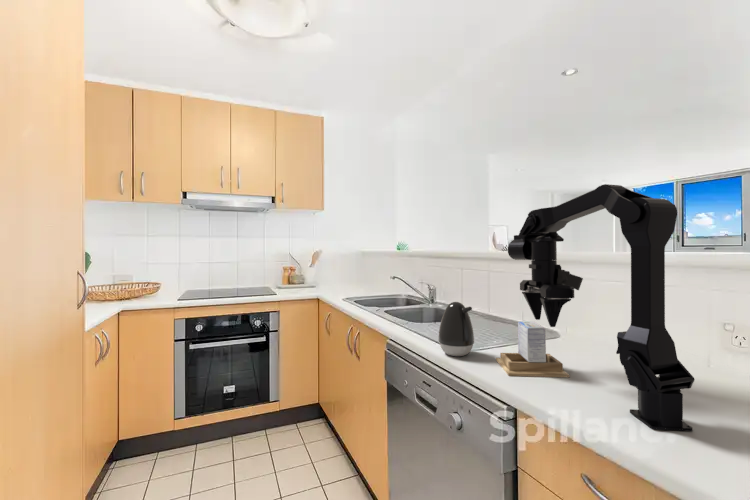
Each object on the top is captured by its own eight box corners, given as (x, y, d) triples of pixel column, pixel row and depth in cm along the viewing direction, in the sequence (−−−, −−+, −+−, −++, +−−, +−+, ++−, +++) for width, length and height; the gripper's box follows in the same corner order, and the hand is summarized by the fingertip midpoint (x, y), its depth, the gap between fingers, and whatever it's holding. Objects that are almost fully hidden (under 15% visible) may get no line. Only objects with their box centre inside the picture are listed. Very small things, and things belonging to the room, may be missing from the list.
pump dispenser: (460, 361, 96) (460, 305, 96) (431, 353, 104) (431, 301, 104) (482, 354, 102) (481, 302, 102) (453, 346, 110) (452, 298, 110)
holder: (569, 377, 84) (569, 366, 84) (508, 375, 85) (508, 365, 85) (548, 361, 96) (548, 351, 96) (496, 360, 97) (496, 350, 97)
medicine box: (546, 363, 86) (546, 327, 86) (527, 362, 87) (527, 327, 87) (534, 353, 94) (534, 321, 94) (517, 353, 94) (517, 320, 94)
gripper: (598, 260, 78) (599, 331, 78) (560, 259, 97) (561, 316, 97) (546, 261, 79) (547, 331, 79) (518, 259, 98) (519, 316, 98)
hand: (544, 323), depth 88 cm, fingers open, 9 cm apart
